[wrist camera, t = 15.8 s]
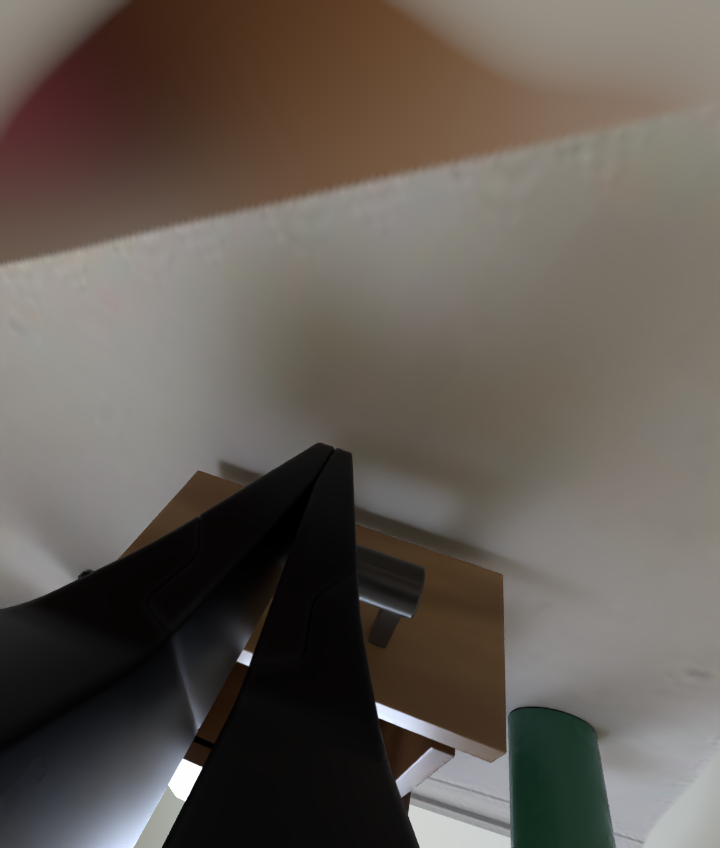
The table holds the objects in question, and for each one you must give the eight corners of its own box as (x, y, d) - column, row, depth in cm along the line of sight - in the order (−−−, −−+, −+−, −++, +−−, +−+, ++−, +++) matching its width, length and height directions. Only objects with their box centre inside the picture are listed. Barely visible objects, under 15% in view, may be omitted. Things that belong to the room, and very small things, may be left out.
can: (491, 717, 25) (490, 926, 18) (544, 699, 22) (566, 943, 15) (555, 750, 25) (577, 969, 18) (616, 738, 22) (669, 994, 15)
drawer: (189, 396, 15) (50, 511, 10) (549, 511, 13) (578, 708, 8) (218, 629, 26) (161, 729, 22) (408, 703, 25) (389, 828, 20)
